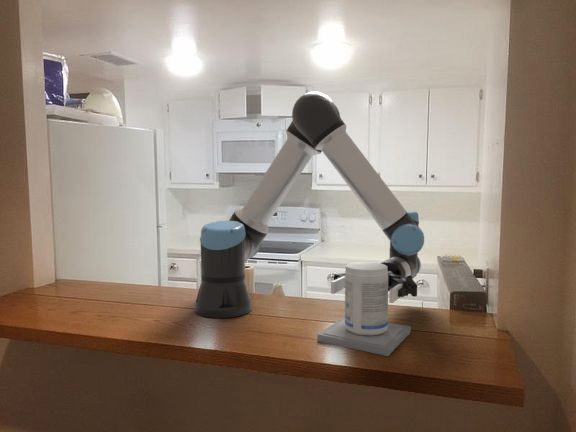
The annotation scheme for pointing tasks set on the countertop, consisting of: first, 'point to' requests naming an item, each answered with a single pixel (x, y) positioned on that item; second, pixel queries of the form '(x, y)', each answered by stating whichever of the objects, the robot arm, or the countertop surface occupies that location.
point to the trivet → (365, 338)
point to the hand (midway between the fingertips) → (360, 292)
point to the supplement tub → (366, 298)
